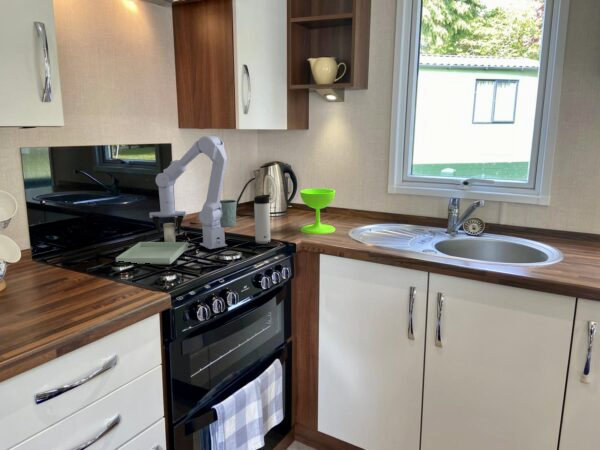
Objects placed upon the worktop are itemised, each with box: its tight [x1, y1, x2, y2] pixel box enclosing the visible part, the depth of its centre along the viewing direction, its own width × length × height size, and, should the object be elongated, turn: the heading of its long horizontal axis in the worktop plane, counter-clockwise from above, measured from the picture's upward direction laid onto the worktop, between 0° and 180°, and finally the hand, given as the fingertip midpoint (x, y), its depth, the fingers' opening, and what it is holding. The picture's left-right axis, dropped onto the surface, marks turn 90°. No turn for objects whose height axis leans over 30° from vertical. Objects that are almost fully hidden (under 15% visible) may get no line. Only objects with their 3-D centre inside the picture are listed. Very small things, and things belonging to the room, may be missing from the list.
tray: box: [115, 241, 189, 265], centre depth 183 cm, size 22×20×2 cm
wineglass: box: [299, 188, 336, 235], centre depth 218 cm, size 16×16×18 cm
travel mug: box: [253, 194, 271, 245], centre depth 198 cm, size 6×7×20 cm
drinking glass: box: [220, 199, 238, 228], centre depth 229 cm, size 10×10×12 cm
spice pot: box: [162, 222, 177, 242], centre depth 200 cm, size 5×5×8 cm
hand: (169, 233), depth 200 cm, fingers open, 7 cm apart
